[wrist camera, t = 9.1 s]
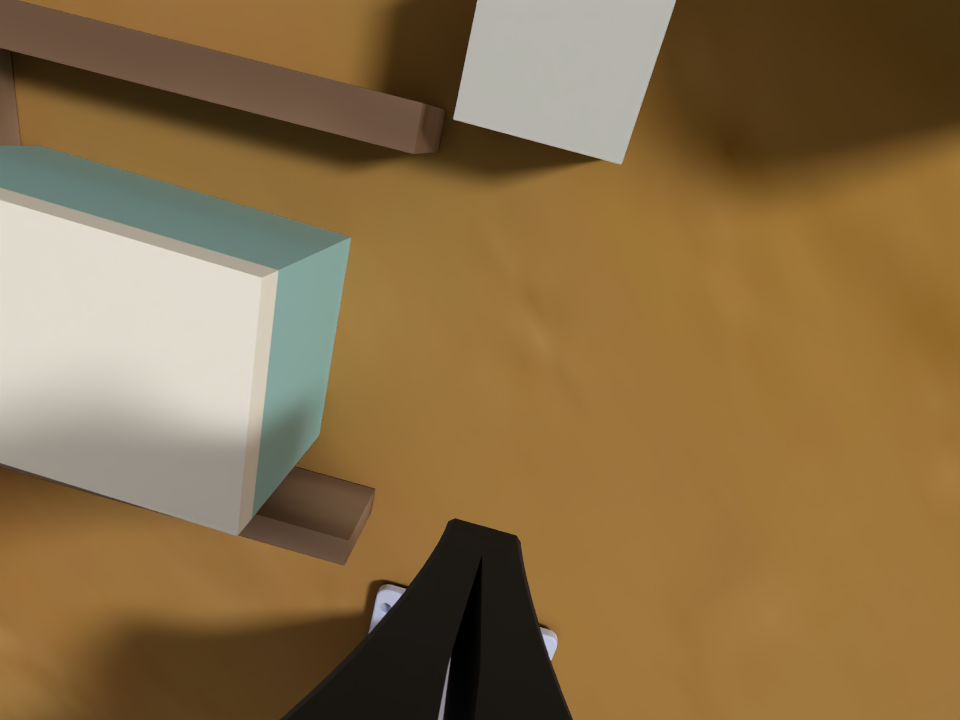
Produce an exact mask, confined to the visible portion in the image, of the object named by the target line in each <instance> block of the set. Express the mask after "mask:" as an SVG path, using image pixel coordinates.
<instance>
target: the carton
mask: <svg viewBox="0 0 960 720" xmlns="http://www.w3.org/2000/svg"><path fill="white" fill-rule="evenodd" d="M350 241H351V237H349V236H346V235H342V234H339V233H336V232H332V231H329V230H325V229H322V228H319V227H315V226H312V225H308V224H305V223H301V222H298V221H295V220H291V219H288V218H284V217H281V216H278V215H274V214H271V213H267V212H264V211H261V210H257V209H254V208H250V207H247V206H244V205H240V204H237V203H233V202H230V201H227V200H223V199H220V198H216V197H213V196H210V195H206V194H203V193H199V192H196V191H193V190H189V189H186V188H182V187H179V186H176V185H172V184H169V183H165V182H162V181H159V180H155V179H152V178H148V177H145V176H142V175H138V174H135V173H131V172H128V171H125V170H121V169H118V168H114V167H111V166H108V165H104V164H101V163H97V162H94V161H91V160H87V159H84V158H80V157H77V156H74V155H70V154H67V153H63V152H60V151H57V150H53V149H50V148H46V147H43V146H0V463H2V464H5V465H8V466H11V467H15V468H18V469H21V470H24V471H27V472H31V473H34V474H37V475H40V476H44V477H47V478H50V479H53V480H57V481H60V482H63V483H66V484H70V485H73V486H76V487H79V488H83V489H86V490H89V491H92V492H95V493H99V494H102V495H105V496H108V497H112V498H115V499H118V500H121V501H125V502H128V503H131V504H134V505H138V506H141V507H144V508H147V509H151V510H154V511H157V512H160V513H163V514H167V515H170V516H173V517H176V518H180V519H183V520H186V521H189V522H193V523H196V524H199V525H202V526H206V527H209V528H212V529H215V530H219V531H222V532H225V533H228V534H231V535H235V536H238V535H239V534H240V532H241V531H242V530H243V529H244V528H245V526H246V525H247V524H248V523H249V521H250V520H251V519H252V518H253V516H254V515H255V514H256V513H257V512H258V510H259V509H260V508H261V507H262V505H263V504H264V503H265V502H266V500H267V499H268V498H269V497H270V496H271V494H272V493H273V492H274V491H275V489H276V488H277V487H278V486H279V484H280V483H281V482H282V481H283V480H284V478H285V477H286V476H287V475H288V473H289V472H290V471H291V470H292V468H293V467H294V466H295V465H296V463H297V462H298V461H299V460H300V459H301V457H302V456H303V455H304V454H305V452H306V451H307V450H308V449H309V447H310V446H311V445H312V444H313V443H314V441H315V440H316V439H317V438H318V436H319V433H320V427H321V421H322V415H323V409H324V402H325V396H326V390H327V384H328V377H329V371H330V365H331V359H332V353H333V346H334V340H335V334H336V328H337V321H338V315H339V309H340V303H341V297H342V290H343V284H344V278H345V272H346V266H347V259H348V253H349V247H350Z"/></svg>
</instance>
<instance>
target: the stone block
mask: <svg viewBox="0 0 960 720" xmlns="http://www.w3.org/2000/svg"><path fill="white" fill-rule="evenodd" d="M675 2H676V0H477V5H476V10H475V15H474V19H473V24H472V29H471V34H470V39H469V44H468V49H467V54H466V59H465V64H464V69H463V74H462V78H461V83H460V88H459V93H458V98H457V103H456V108H455V113H454V118H453V120H457V121H461V122H465V123H468V124H472V125H476V126H479V127H483V128H487V129H491V130H494V131H498V132H502V133H506V134H509V135H513V136H517V137H520V138H524V139H528V140H532V141H535V142H539V143H543V144H547V145H550V146H554V147H558V148H562V149H565V150H569V151H573V152H576V153H580V154H584V155H588V156H591V157H595V158H599V159H603V160H606V161H610V162H614V163H617V164H622V161H623V158H624V155H625V152H626V149H627V146H628V143H629V140H630V137H631V134H632V131H633V128H634V125H635V122H636V119H637V116H638V113H639V110H640V107H641V104H642V101H643V98H644V95H645V92H646V89H647V86H648V83H649V80H650V77H651V74H652V71H653V68H654V65H655V62H656V59H657V56H658V53H659V50H660V47H661V44H662V41H663V38H664V35H665V32H666V29H667V26H668V23H669V20H670V17H671V14H672V11H673V8H674V5H675Z"/></svg>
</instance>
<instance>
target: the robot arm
mask: <svg viewBox="0 0 960 720" xmlns="http://www.w3.org/2000/svg"><path fill="white" fill-rule="evenodd" d="M385 603H387V604H389V605H387V604H385ZM556 648H557V636H556V634H555V633H554V632H553V631H551V630H549V629H545V628H542V627H540V626H539V622H538V619H537V616H536V612H535V609H534V605H533V601H532V598H531V594H530V590H529V585H528V581H527V577H526V572H525V568H524V562H523V557H522V551H521V542H520V540H519V539H518V537H517V536H516V535H513V534H509V533H506V532H502V531H498V530H495V529H491V528H488V527H484V526H481V525H477V524H473V523H470V522H466V521H463V520H459V519H456V518H455V519H453V520H450V521H448V523H447V526H446V529H445V531H444V533H443V535H442V537H441V539H440V541H439V542H438V544H437V546H436V547H435V549H434V551H433V552H432V554H431V555H430V557H429V558H428V560H427V561H426V563H425V564H424V566H423V567H422V569H421V570H420V571H419V573H418V574H417V575H416V577H415V578H414V580H413V581H412V582H411V584H410V585H409V586H408V588H407V589H405V588H401V587H398V586H394V585H390V584H386V585H382V586H381V587H380V588H379V590H378V593H377V595H376V600H375V605H374V610H373V615H372V619H371V624H370V629H369V634H368V635H367V636H366V637H365V638H364V640H363V641H362V642H361V643H360V644H359V645H358V646H357V647H356V648H355V649H354V650H353V651H352V652H351V653H350V654H349V655H348V656H347V657H346V658H345V659H344V660H343V661H342V662H341V663H340V664H339V665H338V666H337V667H336V668H335V669H334V670H333V671H332V672H331V673H330V674H329V675H328V676H327V677H326V678H325V679H324V680H323V681H322V682H321V683H320V684H319V685H318V686H317V687H315V688H314V689H313V690H312V691H311V692H310V693H309V694H308V695H307V696H306V697H305V698H303V699H302V700H301V701H300V702H299V703H298V704H297V705H296V706H295V707H294V708H293V709H291V710H290V711H289V712H288V713H287V714H286V715H285V716H283V717H282V718H281V719H280V720H573V719H572V716H571V714H570V711H569V709H568V706H567V704H566V701H565V699H564V696H563V693H562V691H561V688H560V685H559V683H558V680H557V677H556V674H555V672H554V669H553V666H552V663H551V660H552V657H553V655H554V652H555V650H556Z"/></svg>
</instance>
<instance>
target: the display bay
mask: <svg viewBox="0 0 960 720" xmlns="http://www.w3.org/2000/svg"><path fill="white" fill-rule="evenodd" d="M10 50H11V51H14V52H18V53H22V54H26V55H30V56H34V57H38V58H42V59H46V60H49V61H53V62H57V63H61V64H65V65H69V66H73V67H77V68H81V69H84V70H88V71H92V72H96V73H100V74H104V75H108V76H112V77H116V78H120V79H123V80H127V81H131V82H135V83H139V84H143V85H147V86H151V87H155V88H158V89H162V90H166V91H170V92H174V93H178V94H182V95H186V96H190V97H193V98H197V99H201V100H205V101H209V102H213V103H217V104H221V105H225V106H228V107H232V108H236V109H240V110H244V111H248V112H252V113H256V114H260V115H263V116H267V117H271V118H275V119H279V120H283V121H287V122H291V123H295V124H299V125H302V126H306V127H310V128H314V129H318V130H322V131H326V132H330V133H334V134H337V135H341V136H345V137H349V138H353V139H357V140H361V141H365V142H369V143H372V144H376V145H380V146H384V147H388V148H392V149H396V150H400V151H404V152H407V153H411V154H422V153H434V152H438V150H439V144H440V139H441V134H442V128H443V123H444V118H445V112H446V110H445V109H441V108H438V107H434V106H431V105H428V104H424V103H421V102H417V101H413V100H409V99H405V98H401V97H397V96H393V95H389V94H385V93H381V92H377V91H373V90H369V89H365V88H362V87H358V86H354V85H350V84H346V83H342V82H338V81H334V80H330V79H326V78H322V77H318V76H314V75H310V74H306V73H302V72H298V71H294V70H291V69H287V68H283V67H279V66H275V65H271V64H267V63H263V62H259V61H255V60H251V59H247V58H243V57H239V56H235V55H231V54H227V53H223V52H220V51H216V50H212V49H208V48H204V47H200V46H196V45H192V44H188V43H184V42H180V41H176V40H172V39H168V38H164V37H160V36H156V35H152V34H149V33H145V32H141V31H137V30H133V29H129V28H125V27H121V26H117V25H113V24H109V23H105V22H101V21H97V20H93V19H89V18H85V17H81V16H78V15H74V14H70V13H66V12H62V11H58V10H54V9H50V8H46V7H42V6H38V5H34V4H30V3H26V2H22V1H18V0H0V146H21V141H20V132H19V123H18V115H17V106H16V97H15V88H14V79H13V70H12V61H11V52H10ZM0 468H3V469H7V470H10V471H14V472H17V473H21V474H24V475H28V476H31V477H35V478H38V479H42V480H45V481H49V482H52V483H56V484H59V485H63V486H66V487H70V488H73V489H77V490H80V491H84V492H87V493H91V494H94V495H98V496H102V497H105V498H109V499H112V500H116V501H119V502H123V503H126V504H130V505H133V506H137V507H140V508H144V507H141V506H138V505H134V504H131V503H128V502H125V501H121V500H118V499H115V498H112V497H108V496H105V495H102V494H99V493H95V492H92V491H89V490H86V489H83V488H79V487H76V486H73V485H70V484H66V483H63V482H60V481H57V480H53V479H50V478H47V477H44V476H40V475H37V474H34V473H31V472H27V471H24V470H21V469H18V468H15V467H11V466H8V465H5V464H2V463H0ZM374 494H375V489H372V488H369V487H365V486H362V485H358V484H355V483H351V482H347V481H344V480H340V479H337V478H333V477H329V476H326V475H322V474H319V473H315V472H312V471H308V470H304V469H301V468H297V467H293V468H292V470H291V471H290V472H289V473H288V475H287V476H286V477H285V478H284V480H283V481H282V482H281V483H280V484H279V486H278V487H277V488H276V489H275V491H274V492H273V493H272V494H271V496H270V497H269V498H268V499H267V500H266V502H265V503H264V504H263V505H262V507H261V508H260V509H259V510H258V512H257V513H256V514H255V515H254V516H253V518H252V519H251V520H250V521H249V523H248V524H247V525H246V526H245V528H244V529H243V530H242V531H241V532H240V534H239V535H238V536H242V537H245V538H249V539H252V540H256V541H259V542H263V543H266V544H270V545H273V546H277V547H280V548H284V549H288V550H291V551H295V552H298V553H302V554H305V555H309V556H312V557H316V558H319V559H323V560H326V561H330V562H333V563H337V564H340V565H345V563H346V561H347V559H348V557H349V555H350V553H351V551H352V549H353V547H354V545H355V543H356V541H357V539H358V537H359V535H360V533H361V531H362V529H363V527H364V525H365V523H366V521H367V520H368V518H369V516H370V514H371V510H372V505H373V499H374ZM144 509H147V508H144ZM147 510H151V509H147ZM151 511H154V510H151ZM154 512H157V511H154ZM158 513H160V512H158ZM161 514H163V513H161ZM165 515H167V514H165ZM168 516H170V515H168ZM172 517H173V516H172ZM175 518H176V517H175ZM179 519H180V518H179ZM182 520H183V519H182Z"/></svg>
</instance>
